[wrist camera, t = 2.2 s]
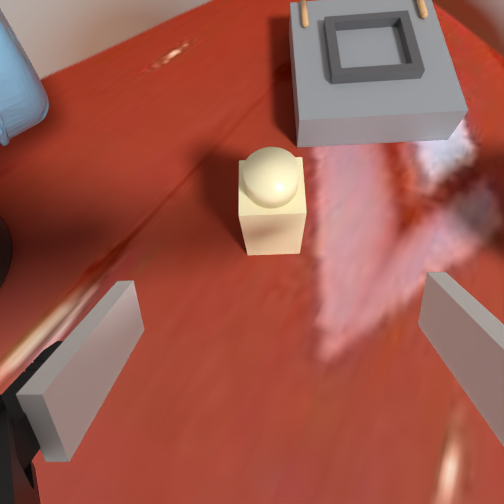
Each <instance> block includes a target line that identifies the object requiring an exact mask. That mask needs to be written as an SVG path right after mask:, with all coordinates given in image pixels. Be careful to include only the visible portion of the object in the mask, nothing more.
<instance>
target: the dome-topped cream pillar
mask: <svg viewBox="0 0 504 504" xmlns="http://www.w3.org/2000/svg"><path fill="white" fill-rule="evenodd" d="M305 219H306V200H305V188H304V175H303V163H302V157H296V158H295V157H294V156H293V155H292V154H291V153H290V152H288V151H286V150H284V149H282V148H277V147H266V148H262V149H259V150H257V151H255V152H254V153H252V154H251V155H250V156H249V157H248V158H247V159H246V160H239V220H240V224H241V229H242V233H243V237H244V242H245V246H246V250H247V255H268V254H298V253H300V248H301V242H302V237H303V231H304V225H305Z"/></svg>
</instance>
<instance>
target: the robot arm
mask: <svg viewBox="0 0 504 504" xmlns="http://www.w3.org/2000/svg"><path fill="white" fill-rule="evenodd" d="M48 108H49V100H48V96H47V93H46V91H45V89H44V87H43V85H42V83H41V81H40V79H39V77H38V75H37V73H36V71H35V70H34V68H33V66H32V64H31V62H30V60H29V58H28V57H27V55H26V53H25V51H24V49H23V48H22V46H21V44H20V43H19V41H18V39H17V37H16V35H15V33H14V32H13V30H12V28H11V27H10V25H9V23H8V21H7V20H6V18H5V16H4V14H3V13H2V11H1V9H0V144H1V145H2V146H6V145H7V144H9V142H10V139H12V138H13V137H15V136H17V135H19V134H21V133H22V132H24V131H26V130H28V129H30V128H31V127H33V126H35V125H37V124H38V123H40V122H41V121H42V120H43V119H44V118H45V117H46V115H47V113H48ZM11 252H12V245H11V237H10V233H9V231H8V228H7V226H6V224H5V223H4V221H3V220H2V219H1V218H0V287H1V285H2V283H3V281H4V279H5V276H6V274H7V271H8V268H9V264H10V260H11ZM418 326H419V327H420V329H421V330H422V331H423V333H424V334H425V336H426V337H427V339H428V340H429V341H430V343H431V344H432V346H433V347H434V348H435V350H436V351H437V353H438V354H439V356H440V357H441V358H442V360H443V361H444V363H445V364H446V366H447V367H448V368H449V370H450V371H451V373H452V374H453V375H454V377H455V378H456V380H457V381H458V383H459V384H460V385H461V387H462V388H463V390H464V391H465V392H466V394H467V395H468V397H469V398H470V400H471V401H472V402H473V404H474V405H475V407H476V408H477V410H478V411H479V412H480V414H481V415H482V417H483V418H484V419H485V421H486V422H487V424H488V425H489V427H490V428H491V429H492V431H493V432H494V434H495V435H496V436H497V438H498V439H499V441H500V442H501V444H502V445H503V446H504V324H502V323H501V322H500V321H499V320H498V319H497V318H496V317H495V316H494V315H493V314H491V313H490V312H489V311H488V310H487V309H486V308H485V307H484V306H483V305H481V304H480V303H479V302H478V301H477V300H476V299H475V298H474V297H473V296H471V295H470V294H469V293H468V292H467V291H466V290H465V289H464V288H463V287H461V286H460V285H459V284H458V283H457V282H456V281H455V280H454V279H453V278H451V277H450V276H449V275H448V274H447V273H446V272H427V275H426V281H425V287H424V293H423V298H422V304H421V310H420V316H419V322H418ZM143 332H144V326H143V321H142V317H141V312H140V308H139V303H138V299H137V294H136V290H135V285H134V281H117V282H116V283H115V284H114V285H113V286H112V288H111V289H110V290H109V291H108V292H107V293H106V294H105V295H104V297H103V298H102V299H101V300H100V301H99V302H98V303H97V304H96V305H95V307H94V308H93V309H92V310H91V311H90V312H89V313H88V314H87V316H86V317H85V318H84V319H83V320H82V321H81V322H80V323H79V324H78V326H77V327H76V328H75V329H74V330H73V331H72V332H71V333H70V335H69V336H68V337H67V338H66V339H65V340H64V341H57V342H55V343H54V344H52V345H51V346H49V347H48V348H46V349H45V350H43V351H42V352H41V354H40V355H39V356H38V357H37V358H36V359H35V360H34V362H33V363H31V364H30V365H29V366H28V367H27V368H26V369H25V370H26V371H25V372H23V373H22V374H21V375H20V376H19V377H18V378H17V379H16V380H15V381H14V382H13V383H12V384H11V385H10V386H9V387H8V388H7V390H6V391H5V392H4V393H3V394H2V395H0V504H40V498H39V491H38V485H37V478H36V472H35V467H34V465H33V463H32V459H33V458H34V456H35V455H36V453H37V452H38V450H39V449H40V450H41V452H42V454H43V457H44V459H45V461H47V462H70V460H71V458H72V456H73V455H74V453H75V451H76V449H77V448H78V446H79V444H80V442H81V441H82V439H83V437H84V435H85V434H86V432H87V430H88V428H89V427H90V425H91V423H92V421H93V420H94V418H95V416H96V414H97V413H98V411H99V409H100V407H101V405H102V404H103V402H104V400H105V398H106V397H107V395H108V393H109V391H110V390H111V388H112V386H113V384H114V383H115V381H116V379H117V377H118V376H119V374H120V372H121V370H122V369H123V367H124V365H125V363H126V362H127V360H128V358H129V356H130V354H131V353H132V351H133V349H134V347H135V346H136V344H137V342H138V340H139V339H140V337H141V335H142V333H143Z"/></svg>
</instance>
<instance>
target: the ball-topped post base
mask: <svg viewBox="0 0 504 504" xmlns="http://www.w3.org/2000/svg"><path fill="white" fill-rule="evenodd" d="M289 43H290V57H291V70H292V84H293V98H294V111H295V125H296V139H297V147H315V146H333V145H352V144H371V143H390V142H408V141H427V140H446V139H449V137H450V136H451V134H452V133H453V131H454V130H455V129H456V127H457V126H458V124H459V123H460V121H461V120H462V118H463V117H464V116H465V114H466V113H467V111H468V109H467V106H466V103H465V100H464V97H463V94H462V91H461V88H460V85H459V82H458V79H457V76H456V73H455V70H454V67H453V63H452V60H451V57H450V54H449V51H448V48H447V45H446V42H445V39H444V36H443V33H442V30H441V27H440V24H439V21H438V18H437V15H436V12H435V9H434V6H433V3H432V0H319V1H307V2H306V0H300V2H295V3H290V20H289Z"/></svg>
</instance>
